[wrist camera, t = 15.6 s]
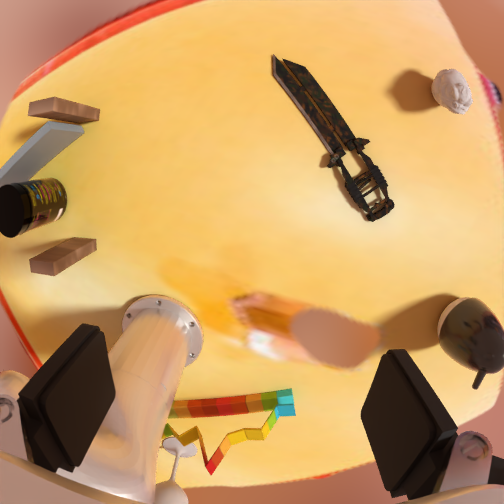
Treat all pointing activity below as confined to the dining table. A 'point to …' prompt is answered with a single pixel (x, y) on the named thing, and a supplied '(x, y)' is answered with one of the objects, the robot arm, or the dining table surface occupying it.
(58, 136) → the door
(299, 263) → the dining table surface
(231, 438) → the chart
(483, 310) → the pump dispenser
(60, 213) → the supplement container
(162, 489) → the wineglass
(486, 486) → the robot arm
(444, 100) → the white rounded lump
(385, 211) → the knife
